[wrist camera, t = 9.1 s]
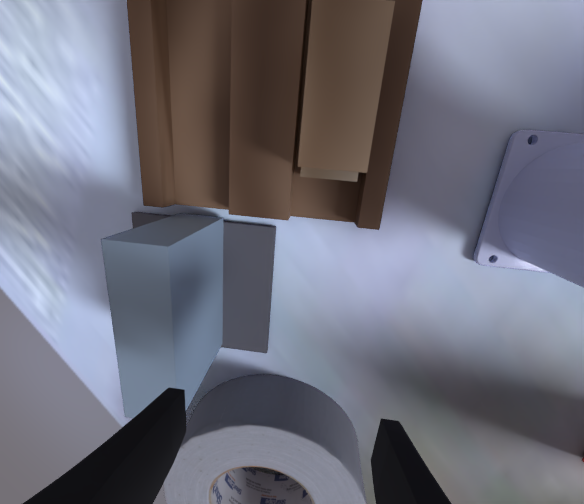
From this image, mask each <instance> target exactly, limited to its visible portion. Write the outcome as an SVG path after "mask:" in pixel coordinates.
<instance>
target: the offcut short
mask: <svg viewBox="0 0 584 504" xmlns="http://www.w3.org/2000/svg"><path fill="white" fill-rule="evenodd" d="M394 5H395V1H391V0H312V9H311V20H310V32H309V43H308V54H307V66H306V77H305V88H304V100H303V111H302V123H301V134H300V145H299V157H298V167H308V168H319V169H330V170H341V171H352V172H363V173H367V170H368V164H369V157H370V151H371V145H372V139H373V133H374V127H375V121H376V115H377V109H378V103H379V96H380V90H381V84H382V78H383V72H384V66H385V60H386V54H387V48H388V42H389V35H390V29H391V23H392V17H393V11H394Z"/></svg>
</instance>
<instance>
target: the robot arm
mask: <svg viewBox="0 0 584 504" xmlns="http://www.w3.org/2000/svg"><path fill="white" fill-rule="evenodd" d="M530 136H531V137H532V138H533V141H532V143H531V144H530V145H529V144H528V138H529V137H530ZM492 255H494V258H493V259H492V260H491V261H489V258H490V256H492ZM474 261H475V262H476V263H478V264H479V265H483V266H493V267H502V268H511V269H520V270H530V271H539V272H548V273H553V274H555V275H557V276H559V277H561V278H564V279H566V280H568V281H570V282H573V283H575V284H577V285H579V286H581V287H584V134H577V133H564V132H551V131H538V130H519V131H517V132H515V133H514V134H513V135H512V136H511V138H510V140H509V143H508V146H507V150H506V153H505V156H504V159H503V162H502V166H501V169H500V172H499V175H498V179H497V182H496V185H495V188H494V192H493V195H492V198H491V201H490V205H489V208H488V211H487V214H486V218H485V221H484V224H483V227H482V231H481V234H480V237H479V240H478V244H477V247H476V250H475V253H474ZM185 434H186V409H185V390H183V389H176V388H170V387H169V388H167V389H166V390H165V391H164V392H163V393H161V394H160V395H159V396H158V397H157V398H156V399H155V400H154V401H152V402H151V403H150V404H149V405H148V406H147V407H146V408H145V409H143V410H142V411H141V412H140V413H139V414H138V415H137V416H135V417H134V418H133V419H132V420H131V421H130V422H128V423H127V424H126V425H125V426H124V427H123V428H121V429H120V430H119V431H118V432H117V433H115V434H114V435H113V436H112V437H111V438H110V439H108V440H107V441H106V442H105V443H103V444H102V445H101V446H100V447H98V448H97V449H96V450H95V451H93V452H92V453H91V454H90V455H88V456H87V457H86V458H84V459H83V460H82V461H81V462H80V463H78V464H77V465H76V466H74V467H73V468H72V469H71V470H69V471H68V472H66V473H65V474H64V475H62V476H61V477H60V478H59V479H57V480H55V481H54V482H53V483H52V484H50V485H49V486H47V487H46V488H44V489H43V490H42V491H40V492H39V493H37V494H36V495H34V496H33V497H32V498H30V499H29V500H27V501H26V502H24V503H23V504H153V502H154V500H155V498H156V496H157V494H158V492H159V490H160V489H161V487H162V485H163V483H164V481H165V479H166V477H167V475H168V473H169V471H170V469H171V467H172V465H173V463H174V461H175V458H176V456H177V454H178V451H179V449H180V446H181V444H182V441H183V439H184V436H185ZM371 466H372V475H373V484H374V492H375V499H376V504H451V502H450V501H449V499H448V498H447V496H446V495H445V493H444V492H443V490H442V489H441V487H440V486H439V484H438V483H437V481H436V480H435V478H434V477H433V475H432V474H431V472H430V471H429V469H428V467H427V466H426V464H425V463H424V461H423V460H422V458H421V456H420V455H419V453H418V452H417V450H416V448H415V447H414V445H413V443H412V442H411V440H410V438H409V437H408V435H407V433H406V432H405V430H404V428H403V427H402V425H401V424H400V422H399V421H394V420H387V419H381V421H380V425H379V429H378V433H377V437H376V441H375V445H374V449H373V453H372V457H371Z"/></svg>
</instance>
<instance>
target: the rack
mask: <svg viewBox="0 0 584 504" xmlns="http://www.w3.org/2000/svg"><path fill="white" fill-rule="evenodd" d="M391 1H395V5H394V11H393V17H392V23H391V29H390V35H389V42H388V48H387V54H386V60H385V66H384V72H383V78H382V84H381V90H380V96H379V103H378V109H377V115H376V121H375V127H374V133H373V139H372V145H371V151H370V157H369V164H368V170H367V173H363V172H359V173H358V179H357V182H353V181H342V180H331V179H320V178H309V177H300V173H301V167H298V157H299V145H300V134H301V123H302V111H303V100H304V88H305V77H306V66H307V54H308V43H309V32H310V20H311V9H312V0H127V9H128V21H129V33H130V45H131V58H132V70H133V82H134V94H135V106H136V119H137V131H138V143H139V155H140V167H141V180H142V192H143V204H144V206H153V207H167V206H171V205H175V204H178V205H188V206H198V207H208V208H217V209H227V210H229V214H231V215H241V216H251V217H260V218H270V219H280V220H288V219H289V218H290V216H296V217H306V218H316V219H326V220H335V221H345V222H354V223H355V224H356V226H357V227H358V228H367V229H377V230H379V228H380V222H381V217H382V212H383V206H384V201H385V196H386V191H387V185H388V180H389V175H390V169H391V164H392V159H393V154H394V148H395V143H396V138H397V132H398V127H399V122H400V116H401V111H402V106H403V101H404V95H405V90H406V85H407V79H408V74H409V69H410V64H411V58H412V53H413V48H414V42H415V37H416V32H417V26H418V21H419V16H420V11H421V5H422V0H391Z"/></svg>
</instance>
